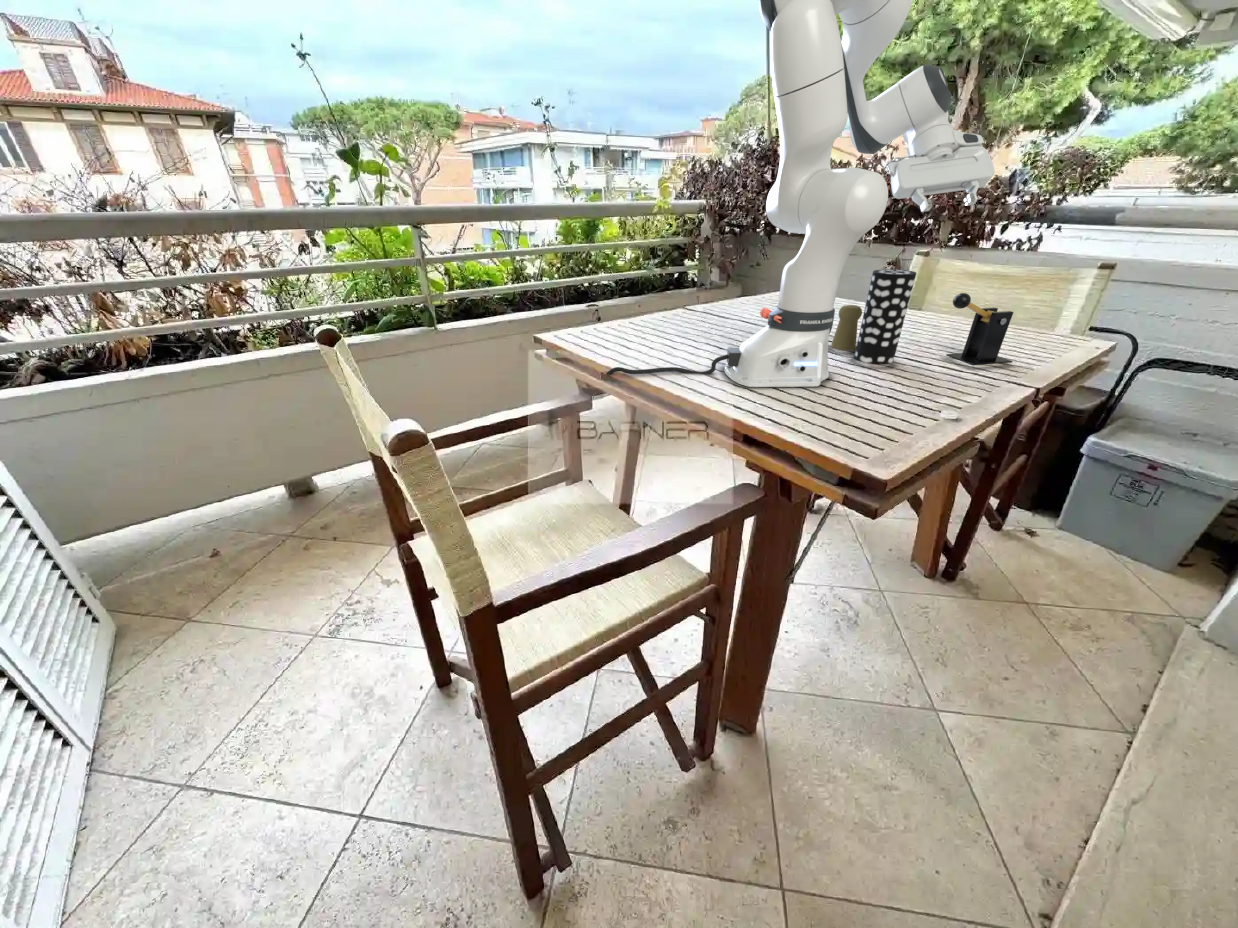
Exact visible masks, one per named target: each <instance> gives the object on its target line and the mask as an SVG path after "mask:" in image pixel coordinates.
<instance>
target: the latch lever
mask: <svg viewBox="0 0 1238 928" xmlns="http://www.w3.org/2000/svg"><path fill="white" fill-rule="evenodd" d="M952 306H953V307H954V308H955V309H958V310H961V309H965V308H967V309H969V310H970V311H972V312H973V313H975V314H976V313H977V314H979V315H981V316H982V319H981V321H983V322H984V323H986V324H988V322H989V319H990V316H991V314H992V312H994V311H990V310H988V311H987V312H986V311H985V310H983V309H981V308H982V307H979V306H978V305H976V304H974V303H972V297H971V296H970V294H969V293H966V292H961V293H958V294H956V295H955V296H954V298H953V300H952Z"/></svg>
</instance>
